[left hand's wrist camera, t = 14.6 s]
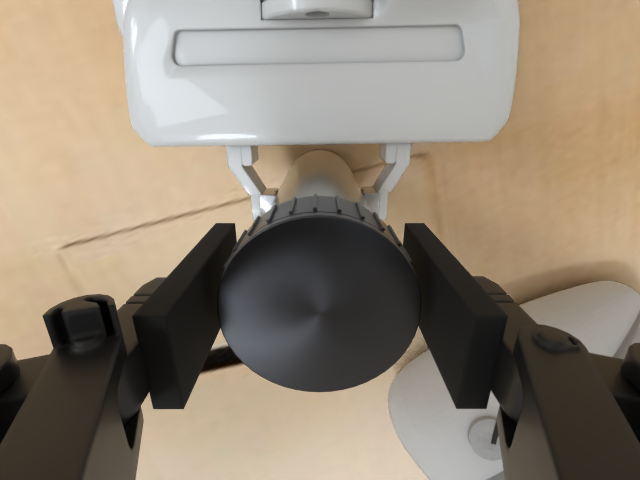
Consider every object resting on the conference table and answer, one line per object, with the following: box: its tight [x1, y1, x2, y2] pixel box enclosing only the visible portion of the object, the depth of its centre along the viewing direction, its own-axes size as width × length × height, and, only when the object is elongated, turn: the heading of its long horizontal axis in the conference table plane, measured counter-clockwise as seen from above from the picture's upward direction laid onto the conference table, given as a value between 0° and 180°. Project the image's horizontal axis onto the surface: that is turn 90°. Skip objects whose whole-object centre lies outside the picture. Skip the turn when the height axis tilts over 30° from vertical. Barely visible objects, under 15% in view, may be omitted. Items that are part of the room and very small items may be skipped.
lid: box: [217, 194, 422, 392], centre depth 11 cm, size 6×6×2 cm
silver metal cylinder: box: [268, 150, 371, 211], centre depth 19 cm, size 5×5×18 cm
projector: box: [388, 281, 640, 480], centre depth 27 cm, size 22×23×15 cm
